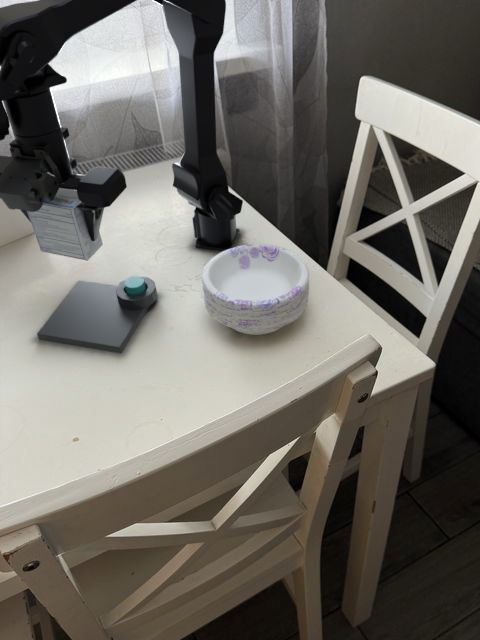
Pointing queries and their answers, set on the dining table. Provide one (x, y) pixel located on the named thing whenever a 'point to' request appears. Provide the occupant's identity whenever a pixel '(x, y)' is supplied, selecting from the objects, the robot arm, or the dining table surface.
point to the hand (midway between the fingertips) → (68, 235)
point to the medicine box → (63, 227)
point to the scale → (98, 316)
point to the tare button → (135, 285)
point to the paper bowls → (256, 288)
